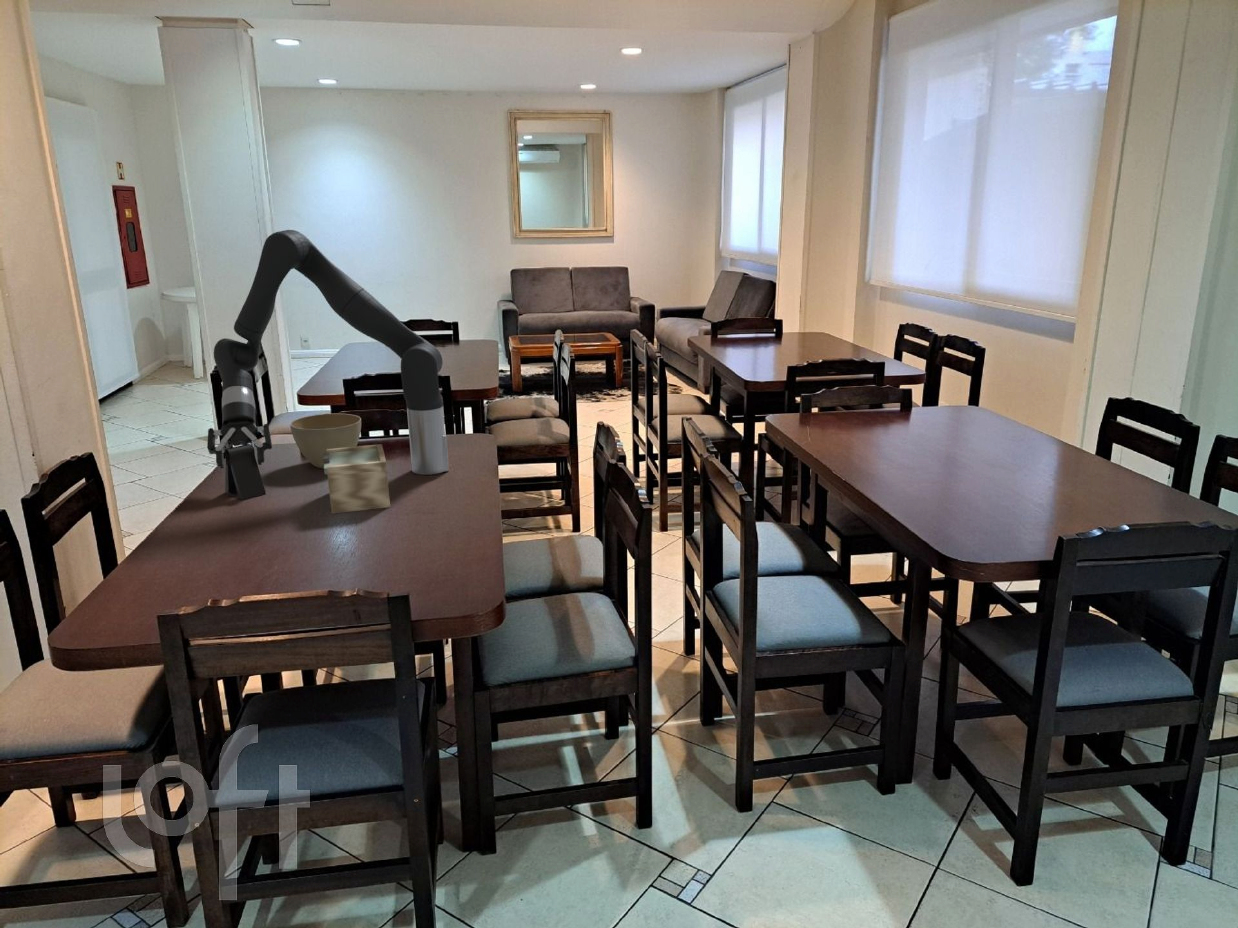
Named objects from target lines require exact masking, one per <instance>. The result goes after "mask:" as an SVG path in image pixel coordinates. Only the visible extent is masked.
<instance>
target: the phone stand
mask: <svg viewBox="0 0 1238 928" xmlns="http://www.w3.org/2000/svg"><path fill="white" fill-rule="evenodd" d="M255 454H256V453H255V447H254V446H253V445H252V444H250V443H249V444H246V445H238V446H233V447H232V446H231V447H230V448H227V449H225V452H224V458H225V474H224V475H225V479H224V480H225V482H224V483H225V484H224V485H225V486H224V491H225V493H226V494H227V495H230V496H231V495H232V496H231V497H234V498H236V499H238V500H240V501H244V500H249V499H252V497H253V498H256V497H260V496H264V495H266V494H267V493H266V490H265V489H266V488H265V485H264V482H263V479H262V476H261V472H260V469H259V465H258V460H257V457H256V455H255Z"/></svg>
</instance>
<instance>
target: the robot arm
mask: <svg viewBox="0 0 1238 928" xmlns="http://www.w3.org/2000/svg"><path fill="white" fill-rule="evenodd" d="M291 270H296V271H297V272H298V273H300V274H301V275H303V276H304V277H305V278H306V279H308V280H310V282H311V283H313V284H314V285H315V287H317V288H318V290H319V292H320V293H321V294H322V296H323V297H324V299H325V300H326V302H327V304H328V305H329V307H330V308H331V309H332V310H333V312H334V313H335V314H337V316H339V317H340V318H341V319H342V320H344V321H345V322H346V323H347V324H349V326H350V327H352V328H354V329H355V330H356V331H358V332H360V333H362V334H363V335H365V336H367V337H369V338H371V339H373V340H375V341H376V342H379V343H381V344H382V345H384V346H386V347H387V348H389V349H390V350H391V351H392V352H393V353H394V354H396V355H397V356H398V357H399V358H400V359H401V360H400V376H401V377H400V378H401V384H402V385H401V386H402V394H403V398H404V400H405V403H406V414H407V415H406V416H407V425H408V426H407V427H408V437H409V449H410V450H409V451H410V463H411V465H410V466H411V469H412V470H411V471H412V473H413V474H416V475H424V476H425V475H428V476H429V475H430V476H431V475H437V474H441V473H443V472H449V471H450V467H449V454H448V453H449V452H448V441H447V435H446V428H445V417H444V416H445V413H444V400H443V399H444V398H443V396H442V394H441V391H440V383H439V373H440V371H441V370H442V368H443V364H444V363H443V356H442V353H440V350H438V348H437V347H436V346H434V345H433V344H432V343H430V342H429V341H428V340H426V339H425V338H423V337H421V336H420V335H419V334H417V333H416V332H414V331H413V330H411V329H410V328H408V326H406V325H405V324H404V323H403V322H402V321H400V320H399V319H398V318H397V317H396V315H394V314H393V313H392V312H391V311H390V310H388V308H387V307H386V306H384V305H383V304H382V303H381V302H379V300H377V299H376V298H375V297H374V296H373V295H372V294H371V293H369V292H368V291H367V290H366V289H365V288H364V287H362V286H361V285H359V283H357V282H356V281H355V280H354V279H352V278H351V277H350V276H349V275H348V274H346V273H345V272H344V271H343V270H341V269H340V268H338V267H337V266H336V265H335V264H334V263H333V262H331V261H330V260H329V258H327V256H325V255H324V254H323V252H321V250H320V249H318V248H317V246H316V245H315V244H314V243H313V242H312V241H311V240H310V239H309V238H307V236H306V235H304V234H303V233H301V232H300V231H298V230H295V229H285V230H284V229H283V230H280V231H276V232H273V233H271V234H270V235H268V236H267V238H266V239H265V240H264V243H263V245H262V250H261V254H260V257H259V261H258V266H257V269H256V272H255V276H254V279H253V282H252V283H251V287H250V289H249V292H248V294H247V297H246V299H245V301H244V304H243V305H242V307H241V310H240V311H239V314H238V316H237V318H236V320H235V321H234V325H233V331H234V332H235V333H236V334H237V335H238V336H239V337H241V338H242V339H244V340H246V341H247V342H241V341H238V340H235V339H232V338H221V339H219V340H218V341H217V342H216V343H215V344H214V348H213V360H214V362H215V365H216V367H217V370H218V373H219V376H220V378H221V382H222V384H221V385H222V387H221V388H222V397H221V413H222V415H221V416H222V417H221V419H222V426H221V429H218V430H217V429H214V428H212V427H210V428H208V430H207V446H206V448H207V451H208V454H209V455H215V463H216V465H217V467H219V468H220V470H221V469H225V460H224V458H225V455H224V454H225V449H227V448H231V447H232V446H233V447H237V446H241V445H246V444H250V445H251V444H252V445H253V447H254V449H256V455H257V457H256V461H257V465H258V466H262V465H263V463H264V462H265V451H266V450H272V448H273V446H272V445H273V444H272V443H273V442H272V437H271V431H270V426H269V424H267V423H264V424H263V426H262V425H261V426H257V424H256V423H257V422H256V421H257V420H256V402H255V397H254V386H253V377H252V375H251V373H249V372H251V371H252V370H254V368H255V367H256V366H257V365H258V362H259V359H260V357H259V356H260V348H261V343H262V340H263V335H264V334H265V331H266V329H267V327H268V325H269V323H270V321H271V319H272V317H273V314H274V310H275V304H276V299H277V295H278V291H279V290H280V286H281V285H282V283H283V281H284V279H285V278H286V277H287V276H288V273H289V272H290V271H291ZM259 433H261V435H262V436H264V442H261V441H260V440H259V438H257V437H256V436H257V434H259ZM219 436H221V437H222V439H221V440H220V443H218V444H217V446H216V440H218V438H219Z"/></svg>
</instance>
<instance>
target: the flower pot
mask: <svg viewBox="0 0 1238 928" xmlns="http://www.w3.org/2000/svg"><path fill="white" fill-rule="evenodd" d="M289 426H290V430H291V434H292V438H293V440H294V441H295V444H296V447H297V448H298V449H299V451H300V453H301V454H302V456H304V457H305V459H306V460H307V461H308V462H309V463H310V464H312V465H313V467H316V468H320V469H324V459H323V457H324V453H327V451H326V449H333V448H344V447H355V446H358V443H359V440H360V436H361V429H362V418H361V417H360V416H359V415H355V414H349V413H322V414H321V413H320V414H314V415H308V416H303V417H299V418H296V419H294V420H291V422H290V424H289Z"/></svg>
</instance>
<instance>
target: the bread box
mask: <svg viewBox="0 0 1238 928" xmlns="http://www.w3.org/2000/svg"><path fill="white" fill-rule="evenodd" d="M326 451H327V453H324V457H323V459H324V468H323V471H324V472H323V473H324V475H327V484H328V491H329V492H328V493H329V501H330V509H331V514H340V513H341V514H342V513H349V512H357V511H358V512H359V511H366V510H375V509H376V510H377V509H384V508H390V507H391V503H390V502H391V499H390V490H389V481H388V480H389V479H388V469H387V461H386V456H385V452H384V448H383V444H382V443H381V444H380V443H379V444H368V445H357V446H355V447H344V448H333V449H326Z"/></svg>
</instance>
